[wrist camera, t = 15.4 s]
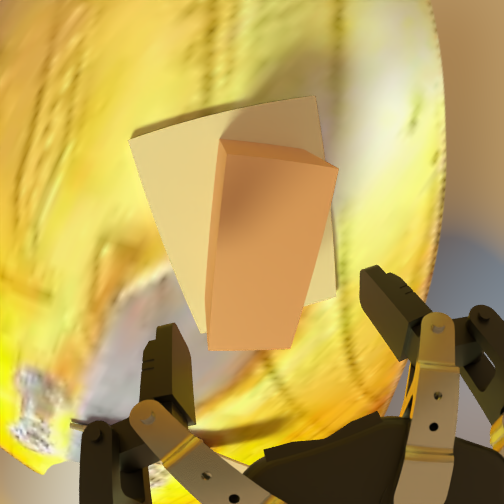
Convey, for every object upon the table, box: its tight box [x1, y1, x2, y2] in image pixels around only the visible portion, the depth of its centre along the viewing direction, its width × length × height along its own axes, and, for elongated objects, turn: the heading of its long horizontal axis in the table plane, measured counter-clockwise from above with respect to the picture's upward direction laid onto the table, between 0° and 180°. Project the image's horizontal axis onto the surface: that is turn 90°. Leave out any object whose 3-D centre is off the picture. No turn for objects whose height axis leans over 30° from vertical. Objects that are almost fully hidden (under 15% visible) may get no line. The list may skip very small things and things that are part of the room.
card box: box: [205, 139, 339, 351], centre depth 17 cm, size 11×5×5 cm, turn 171°
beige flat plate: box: [128, 96, 336, 333], centre depth 19 cm, size 11×15×1 cm
